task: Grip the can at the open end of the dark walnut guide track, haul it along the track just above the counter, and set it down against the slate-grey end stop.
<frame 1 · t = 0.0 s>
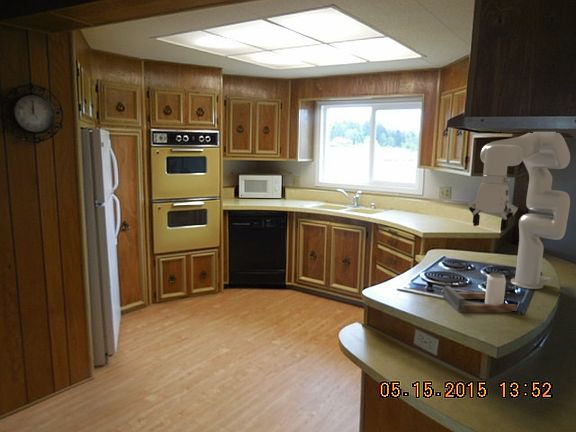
hand: (489, 227, 156), 31 cm above the counter, tool pointing down, fingers open, 9 cm apart
guide track: (478, 304, 166), on the counter
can: (493, 305, 166), on the counter
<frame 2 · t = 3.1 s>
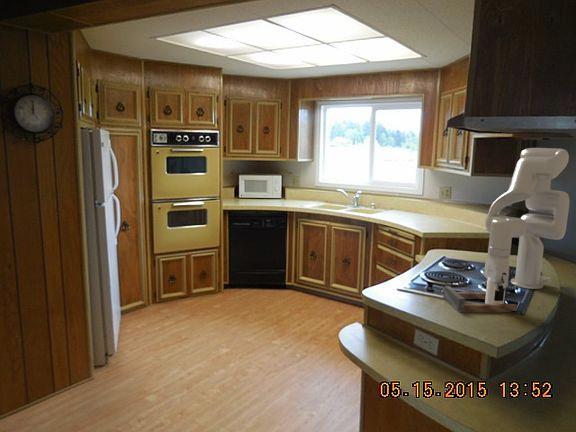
hand: (494, 297, 166), 3 cm above the counter, tool pointing down, fingers closed on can, 5 cm apart
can: (494, 305, 166), on the counter, touching gripper
when the fingers open (3 cm above the counter, at t = 6.8 s): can stays where it is, on the counter.
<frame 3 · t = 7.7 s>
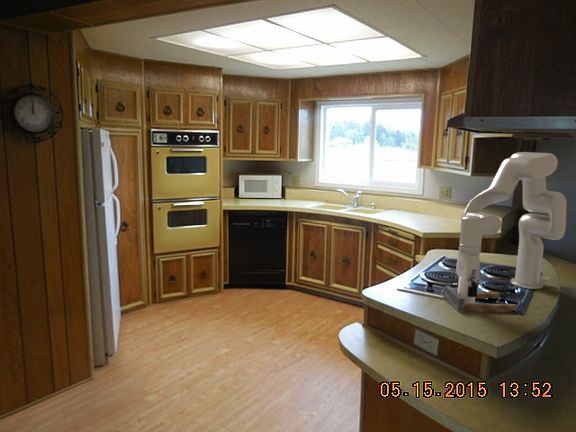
hand: (466, 292, 165), 5 cm above the counter, tool pointing down, fingers open, 9 cm apart
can: (465, 305, 166), on the counter
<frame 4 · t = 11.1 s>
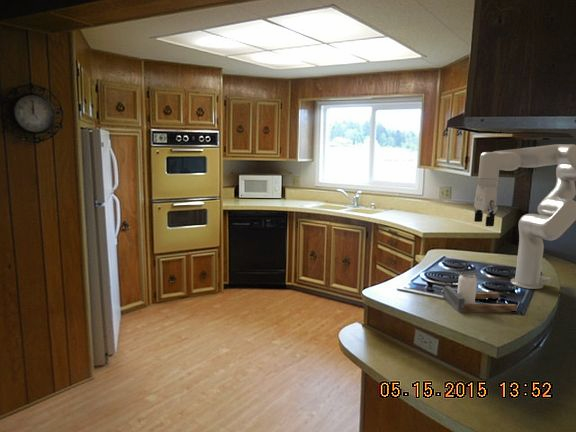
hand: (483, 223, 179), 28 cm above the counter, tool pointing down, fingers open, 9 cm apart
nothing on the counter moved.
at the end: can 0.7 cm from the target spot, on the counter; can tilted 0°; the gripper is holding nothing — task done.
